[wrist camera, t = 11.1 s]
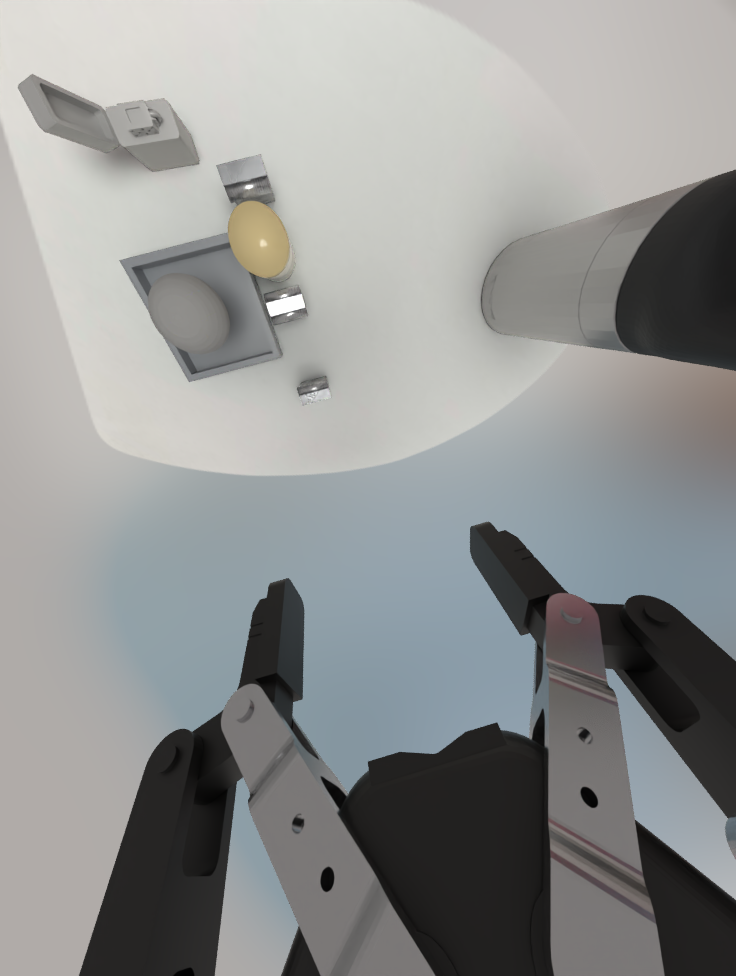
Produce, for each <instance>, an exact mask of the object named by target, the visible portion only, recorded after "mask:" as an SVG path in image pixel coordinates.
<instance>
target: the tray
mask: <svg viewBox="0 0 736 976" xmlns="http://www.w3.org/2000/svg"><path fill="white" fill-rule="evenodd" d="M119 261H120V262H121V264H122V266H123V268H124V269H125V271H126V273H127V275H128V276H129V278H130V280H131V282H132V283H133V285H134V287H135V289H136V290H137V292H138V294H139V295H140V297H141V299H142V301H143V302H144V304H145V306H146V308H147V309H148V295H149V292H150V289H151V287H152V286H153V284H154V283H155V281H156V280H157V279H159V278H160V277H162V276H163V275H166V274H170V273H182V274H188V275H191V276H194V277H197V278H199V279H200V280H202V281H204V282H205V283H207V284H208V285H209V286H210V287H211V288H212V289H213V290H214V291H215V292H216V293H217V294H218V295H219V297H220V298H221V300H222V301H223V303H224V305H225V307H226V309H227V312H228V315H229V321H230V329H229V334H228V337H227V340H226V341H225V343H224V344H223V345H222V346H221V347H220V348H219V349H217V350H216V351H213V352H210V353H207V354H193V353H189V352H186V351H184V350H181V349H179V348H178V347H176V346H174V345H173V344H171V343H170V342H169V341H167V340H166V339H165V338H164V339H165V341H166V343H167V344H168V346H169V348H170V350H171V351H172V353H173V355H174V357H175V358H176V360H177V362H178V363H179V365H180V367H181V369H182V370H183V372H184V374H185V376H186V377H187V379H188V381H189V382H191V381H195V380H199V379H202V378H206V377H210V376H214V375H217V374H221V373H225V372H228V371H232V370H236V369H240V368H243V367H247V366H251V365H254V364H258V363H262V362H266V361H269V360H273V359H277V358H280V357H281V356H282V352H281V349H280V346H279V344H278V341H277V338H276V335H275V332H274V330H273V327H272V324H271V321H270V319H269V316H268V313H267V310H266V308H265V305H264V302H263V299H262V297H261V294H260V291H259V288H258V286H257V283H256V280H255V277H254V274H252V273H251V272H249V271H248V270H246V269H245V268H244V267H243V266H242V265H241V264H240V263H239V261H238V260H237V258H236V257H235V255H234V253H233V251H232V249H231V246H230V242H229V237H228V233H225V234H221V235H217V236H213V237H209V238H205V239H201V240H197V241H193V242H189V243H186V244H182V245H178V246H174V247H170V248H166V249H162V250H158V251H154V252H150V253H146V254H143V255H139V256H135V257H131V258H127V259H123V260H119ZM148 311H149V309H148Z"/></svg>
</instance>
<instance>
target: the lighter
mask: <svg viewBox="0 0 736 976" xmlns="http://www.w3.org/2000/svg"><path fill="white" fill-rule="evenodd" d="M18 89H19V91H20V93H21V95H22V97H23V98H24V100H25V102H26V104H27V106H28V108H29V109H30V111H31V113H32V115H33V117H34V119H35V121H36V122H37V124H38V126H39V127H40V128H41V129H42V130H43V131H44V132H47V133H50V134H53V135H56V136H59V137H61V138H64V139H67V140H70V141H73V142H76V143H79V144H82V145H85V146H88V147H91V148H93V149H96V150H99V151H102V152H105V153H108V152H109V151H111V150H113V149H115V148H117V147H119V145H120V144H121V145H122V146H123V147H124V148H125V149H126V150H128V151H129V152H130V153H131V154H132V155H133V156H135V157H136V158H137V159H138V160H139V161H140V162H142V163H143V164H144V165H145V166H146V167H147V168H149V169H150V170H151V171H152V172H154V171H160V170H165V169H171V168H177V167H183V166H189V165H195V164H199V161H200V160H199V157H198V154H197V151H196V149H195V146H194V143H193V140H192V137H191V134H190V133H189V132H188V130H187V129H186V127H185V126H184V124H183V123H182V121H181V120H180V118H179V117H178V116H177V114H176V113H175V111H174V110H173V108H172V107H171V105H170V104H169V103H168V101H167V100H165V99H164V98H162V99H156V100H149V101H143V100H139V101H132V102H126V103H120V104H117V106H111V107H106V111H105V110H104V109H103V108H102V107H101V106H99V105H97V104H95V103H93V102H91V101H89V100H86V99H84V98H82V97H80V96H78V95H76V94H74V93H71V92H69V91H67V90H65V89H63V88H61V87H59V86H56V85H54V84H52V83H50V82H48V81H46V80H44V79H42V78H39V77H37V76H35V75H33V74H32V75H30V76H29V77H28V78H26V79H25V80H24V81H23V82H21V83H20V84H19V85H18Z"/></svg>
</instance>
